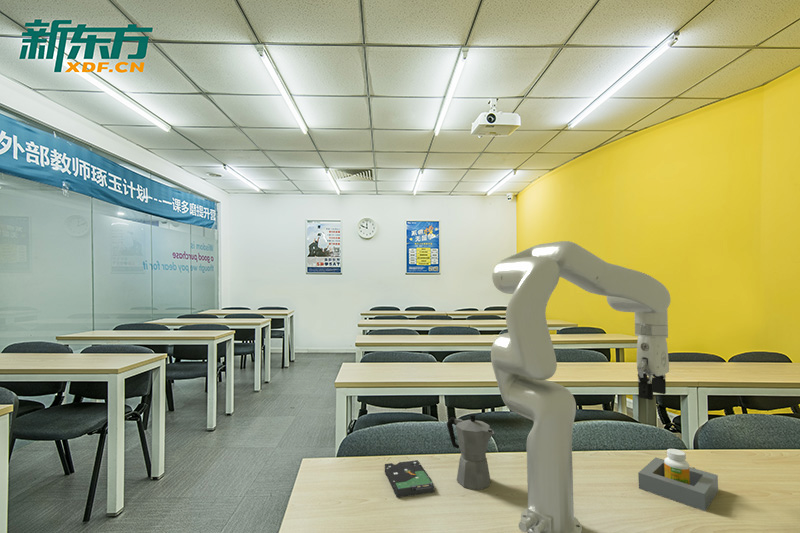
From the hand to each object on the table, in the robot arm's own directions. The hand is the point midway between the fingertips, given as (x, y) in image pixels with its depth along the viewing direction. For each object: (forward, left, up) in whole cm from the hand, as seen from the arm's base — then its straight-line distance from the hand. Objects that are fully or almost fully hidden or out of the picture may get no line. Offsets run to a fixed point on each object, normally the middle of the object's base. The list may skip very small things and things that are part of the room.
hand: (652, 395), depth 103 cm
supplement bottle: (+3, -4, -24) cm, 25 cm away
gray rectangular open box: (+8, -4, -24) cm, 26 cm away
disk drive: (-47, +46, -25) cm, 70 cm away
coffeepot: (-33, +35, -24) cm, 54 cm away
